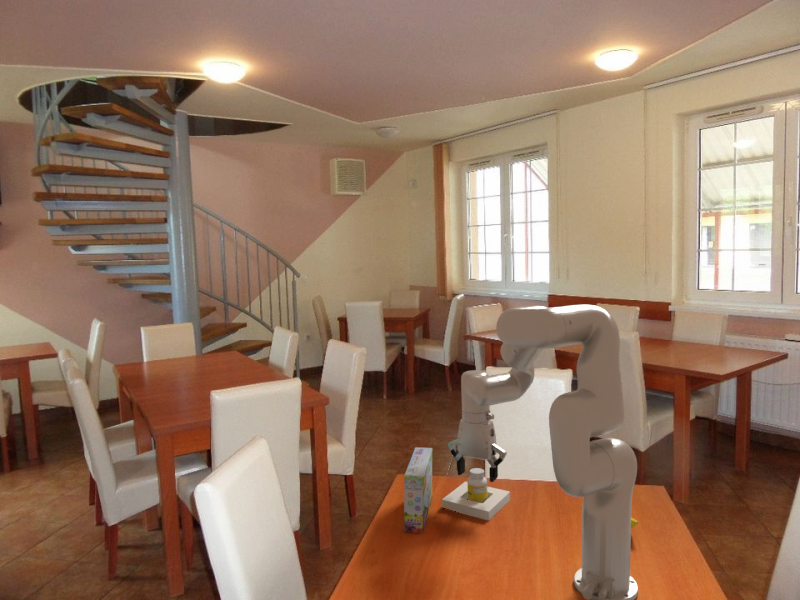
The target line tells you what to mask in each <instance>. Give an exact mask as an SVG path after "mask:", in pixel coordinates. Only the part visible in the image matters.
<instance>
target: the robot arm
mask: <svg viewBox="0 0 800 600" xmlns="http://www.w3.org/2000/svg"><path fill="white" fill-rule="evenodd" d="M495 326H496V327H495V328H496V329H495V331H496V334H497V338H498V339H499V340H500V341H501V342H502V344H501V346H500V349H499V350H500V356H501V358H502V360H503V362H505V363H506V365H508V366H509V367H510V368H511V369H510V370H509V371H507V372H503V373H498V374H491V375H489V374H488V373H487V372H486V371H484V370H480V369H479V370H478V369H474V370H467V371H464V372H462V374H461V379H460V383H461V419H460V420H459V425H458V431H457V433H458V434H457V438H456V439H454V440H452V441H450V442H448V443H447V446H448V448H449V450H450V453H451V455H452V456H453V458H454V460H455V462H456V471H457V476H461V475H462V474H464V473H465V472H466V459H465V457H468V458H473V459H478V460H483V461H487V462H488V464H489V465H490V467H489V470H488V471H489V482H490V483H494V482H495V481H496V480H497V479H498V477H499V471H498V469H499V467H498V466H499V465H500V464H502V463H503V461H504V460H505V458H506V456H507V454H508V453H507V451H506V450H505V449H503V448H502V447H500V446H499V445H497V438H496V430H495V425H494V421H493V420H494V419H495V415H494V414H493V413H491V410H490V409H491V408H490V406H495V405H498V404H499V405H501V404H503V403H509V402H514V401H517V400H519V399H520V398H522V397H523V396H524V395H525V394H526V392H527V391H528V389H529V388H530V387H532V384H533V382H534V379H535V366H534V362H535V361H536V359H537V358H538V357H539V356H540V354H541V352H542V351H543V350H544V349H547V350H548V349H556V348H563V347H569V346H575V345H576V346H577V345H581V346H582V349H581V351H580V353H579V355H578V359H577V362H576V363H577V364H576V377H577V389H576V390H573V391H569V392H568V391H567V392H565V393H562V394H560V395H558V396H557V397H556V398H555V399H554V400H553V401H552V402H551V403H552V404H551V406H550V409H549V413H548V426H549V434H550V436H549V437H550V446H551V447H550V448H551V458H552V466H553V473H554V477H555V480H556V481H557V484H558V486H559V487H560V489H561V490H562V491H563V492H564V493H565V494H566V495H568V496H571V497H573V498H581V497H583V498H582V506H581V507H582V508H581V509H582V510H581V511H582V512H581V568H579V569H578V570H577V571H576V572H575V573H574V576H573V584H574V586H575V588H576V589H577V591H578V592H579V593H581V595H582V597H583V598H584V599H586V600H635V599H636V598H637V596H638V592H639V587H638V586H639V585H638V584H637V581H636V580H635V579H634V577H632V576H631V545H632V544H631V538H632V537H631V536H632V534H631V532H632V528H631V518H632V503H633V492H634V489H635V488H634V487H635V483H636V479H637V476H638V475H637V474H638V461H637V460H638V459H637V456H636V454H635V451H634V450H633V448H632V447H631V446H630V445H629V444H628V443H627V442H625V441H624V440H622V439H618V438H616V437H615V438H614V437H606V438H600V439H595V440H592V441H590V440H591V438H594V437H598V436H602V435H606V434H610V433H612V432H615V431H617V430H619V429H620V428H622V425H623V424H624V421H625V405H624V395H623V385H622V384H623V383H622V376H621V375H622V374H621V366H620V347H621V346H620V345H621V344H620V342H621V339H620V330H619V327H618V324H617V322H616V320H615V319H614V317H613V316H612V315H611V314H610V313H609V312H608V311H607V310H606V309H605V308H603V307H601V306H597V305H594V304H587V303H586V304H585V303H584V304H582V303H581V304H570V305H569V304H568V305H562V306H553V307H547V306H543V305H527V306H517V307H511V308H507V309H505V310H504V311H502V313H500V315H499V317H498V318H497V321H496V325H495ZM456 446H457V448H456ZM497 454H498V455H499V456H498V458H497V457H496V455H497Z"/></svg>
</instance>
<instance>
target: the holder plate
mask: <svg viewBox="0 0 800 600" xmlns="http://www.w3.org/2000/svg"><path fill="white" fill-rule="evenodd" d="M487 498H488V499H487V500H486V501H485V502H484V503H479V502H475V501H471V500H467V499H468V481H464V482H463V483H461V484H460V485H459V486H457V487H455V489H454V490H453V491H451V492H450V493H448V494H447V495H446V496H444V497H443V498H442V499H441V508H442V507H443V508H447V509H450V510H453V511H452V512H454V511H456V512H455V513H458V512H459V514H463V515H465V516H466V515H467V516H469V517H473V518H477V519H481V520H485V521H490V520H491V519H493V518H494V517H495V515H497V514H498V512H500V511H501V510H502V509H503V508H504V507H505V506H506V505H507V504H508V503H509V502H510V501H511V491H509V490H505V489H500V488H496V487H491V486H488V485H487ZM443 508H442V509H443ZM447 509H446V510H447ZM450 510H449V511H450Z"/></svg>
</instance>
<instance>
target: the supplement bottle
mask: <svg viewBox="0 0 800 600" xmlns="http://www.w3.org/2000/svg"><path fill="white" fill-rule="evenodd" d="M467 482H468V500H471V501H475V502H479V503H484V502H485V501H486V500H487V499H488V498H487V486H488V480H487V477H485V470H484V468H483V469H482V468H479V467H474V468H471V469H470V470H469V477H468V478H467Z"/></svg>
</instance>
